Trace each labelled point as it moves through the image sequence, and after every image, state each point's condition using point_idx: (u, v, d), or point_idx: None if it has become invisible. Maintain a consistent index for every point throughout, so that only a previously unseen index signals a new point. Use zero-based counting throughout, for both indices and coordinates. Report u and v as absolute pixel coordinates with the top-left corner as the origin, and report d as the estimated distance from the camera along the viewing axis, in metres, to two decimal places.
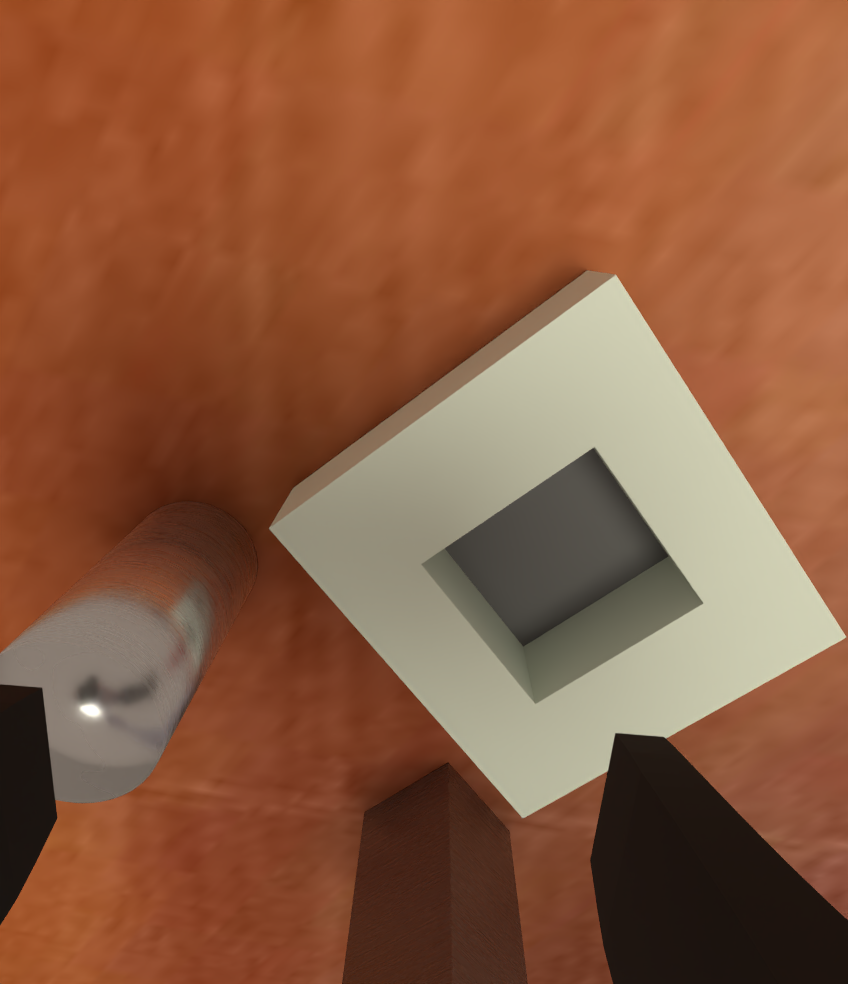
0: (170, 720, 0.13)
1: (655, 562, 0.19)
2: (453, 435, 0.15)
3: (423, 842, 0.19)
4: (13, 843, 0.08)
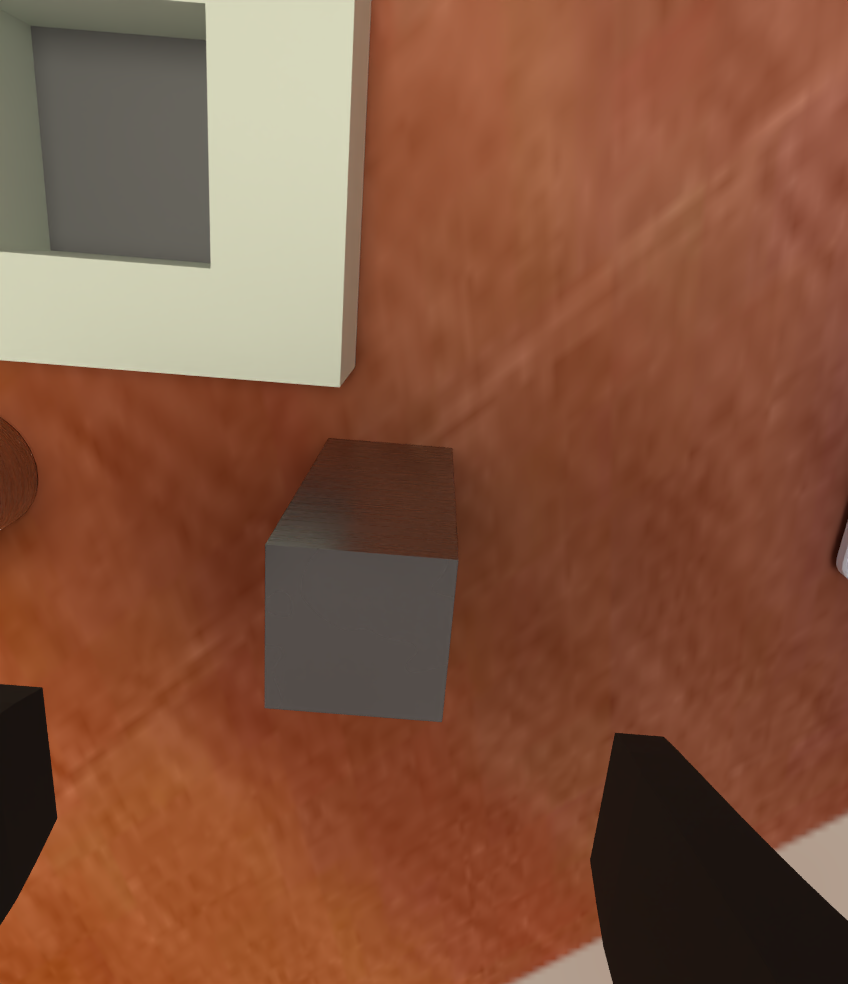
0: None
1: None
2: None
3: None
4: (13, 843, 0.08)
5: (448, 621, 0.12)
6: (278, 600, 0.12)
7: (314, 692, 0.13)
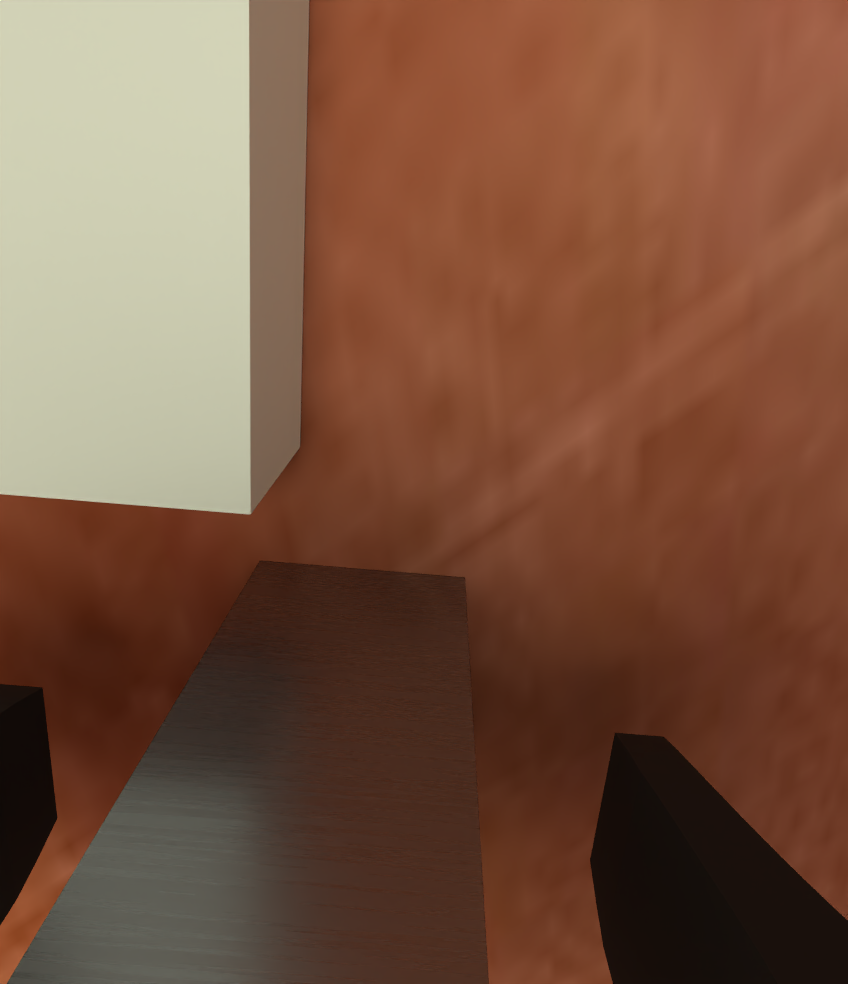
0: None
1: None
2: None
3: None
4: (13, 843, 0.08)
5: None
6: None
7: None
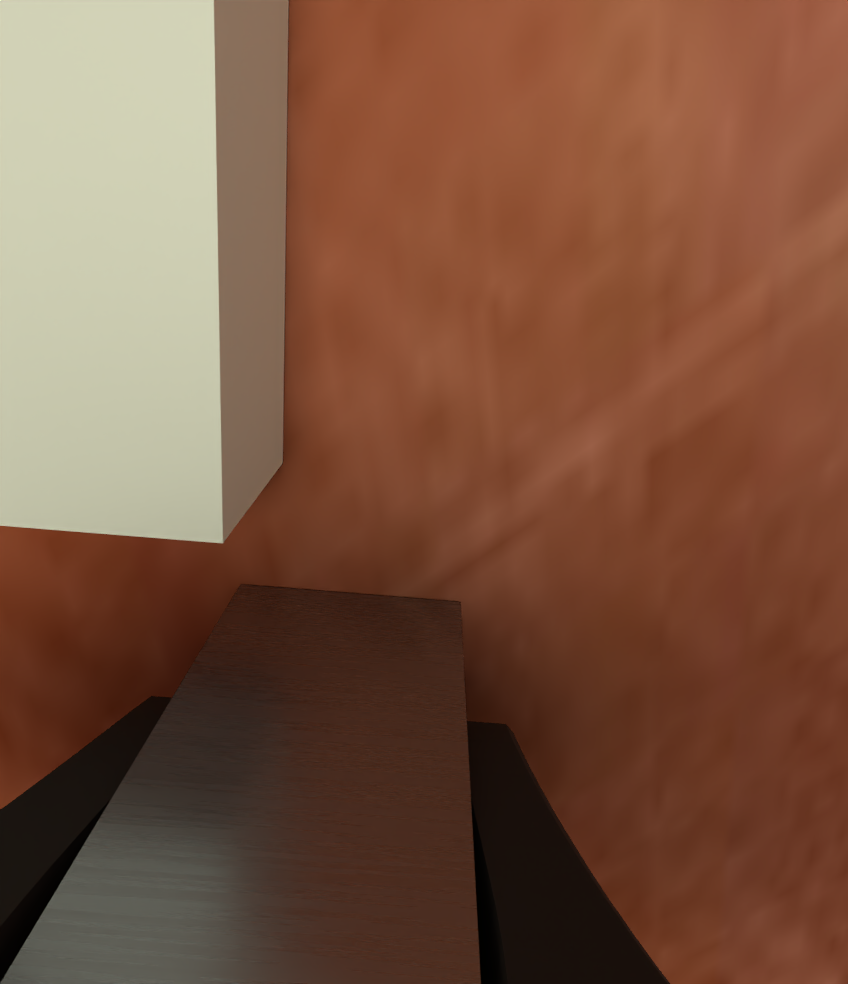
0: None
1: None
2: None
3: None
4: None
5: None
6: None
7: None
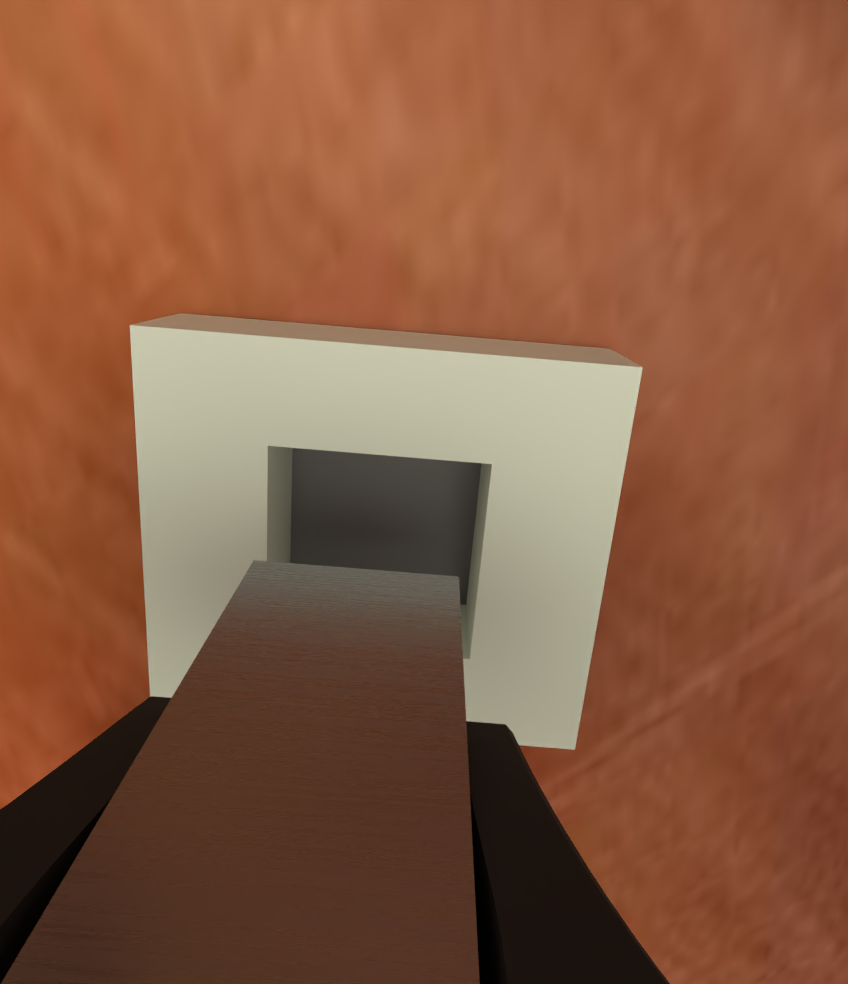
0: None
1: None
2: (175, 539, 0.15)
3: None
4: None
5: None
6: None
7: None
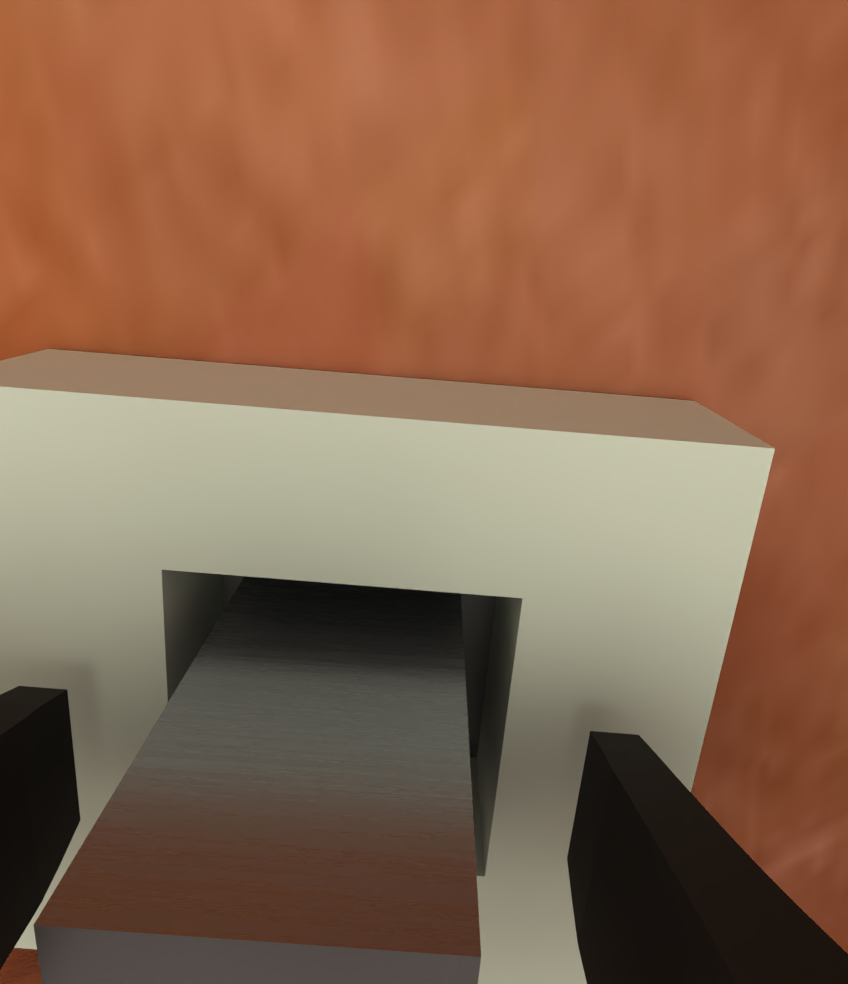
0: None
1: None
2: None
3: None
4: (39, 845, 0.08)
5: None
6: None
7: None
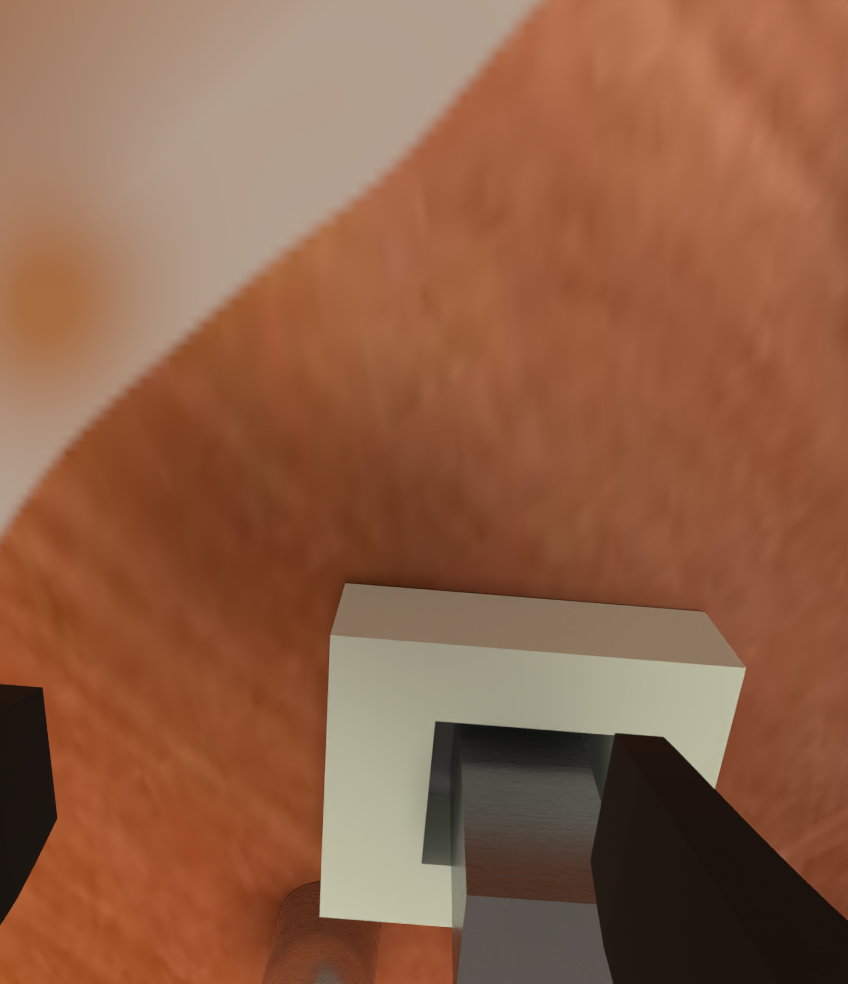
0: None
1: None
2: (352, 787, 0.18)
3: (457, 771, 0.18)
4: (13, 843, 0.08)
5: None
6: (473, 935, 0.14)
7: None
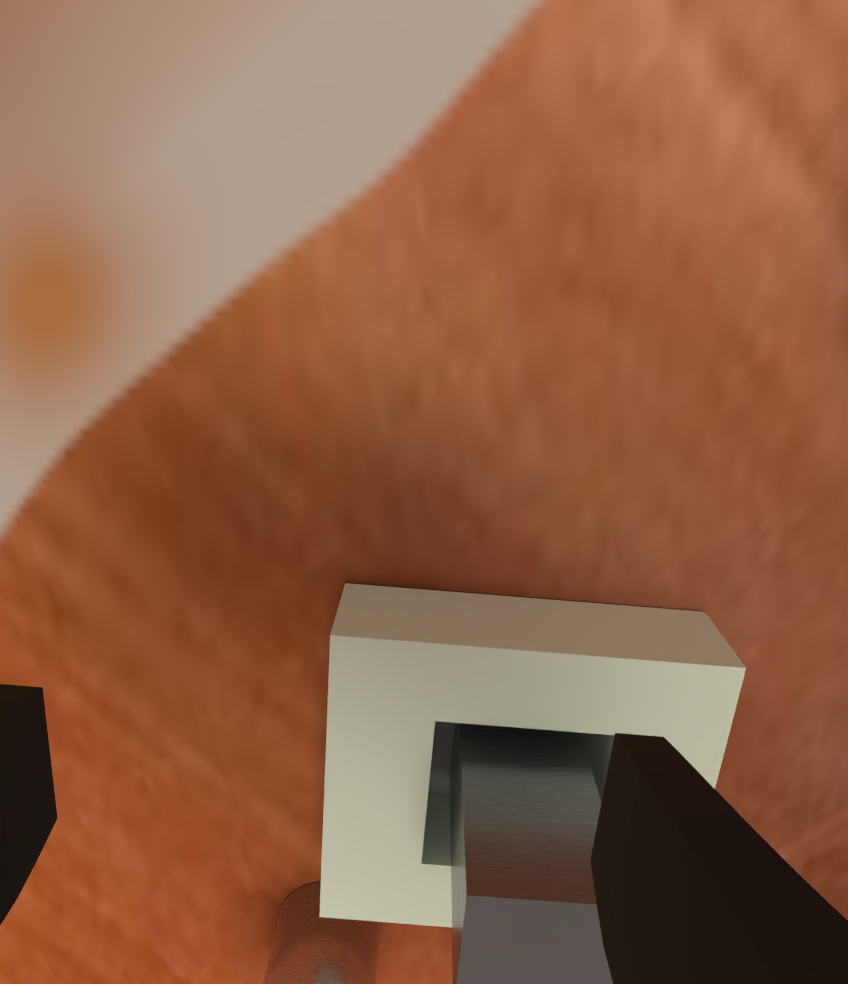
0: None
1: None
2: (352, 787, 0.18)
3: (457, 771, 0.18)
4: (13, 843, 0.08)
5: None
6: (473, 935, 0.14)
7: None
